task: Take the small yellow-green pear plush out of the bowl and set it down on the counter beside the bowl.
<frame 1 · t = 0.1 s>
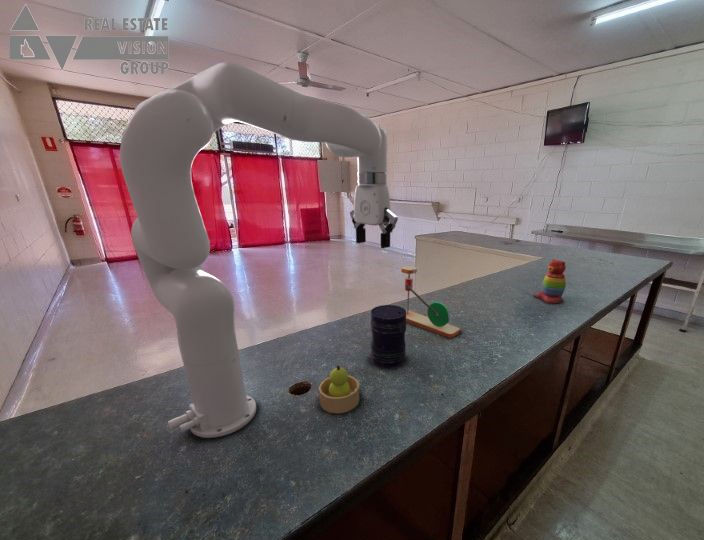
hand: (372, 244, 89), 31 cm above the counter, tool pointing down, fingers open, 9 cm apart
pear plush: (339, 398, 73), resting on bowl
stacking bear: (550, 299, 143), on the counter
bowl: (339, 400, 74), on the counter
crank mechanism: (426, 324, 114), on the counter
storage jar: (388, 359, 91), on the counter
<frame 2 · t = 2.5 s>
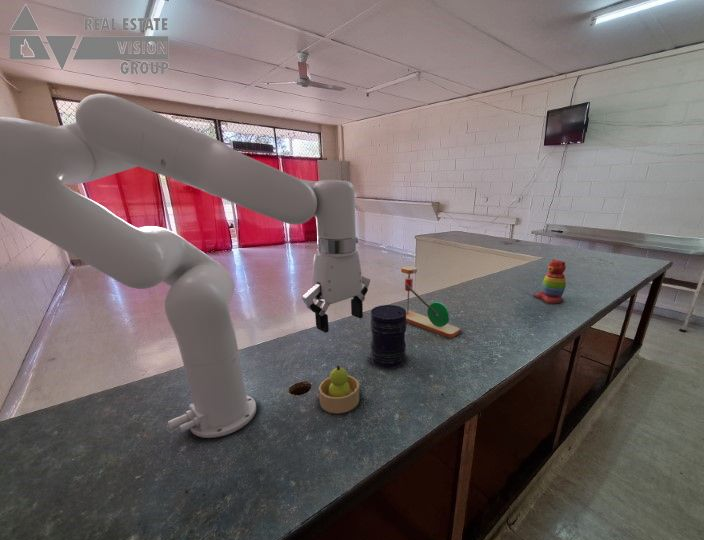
hand: (340, 323, 69), 19 cm above the counter, tool pointing down, fingers open, 9 cm apart
nothing on the counter moved.
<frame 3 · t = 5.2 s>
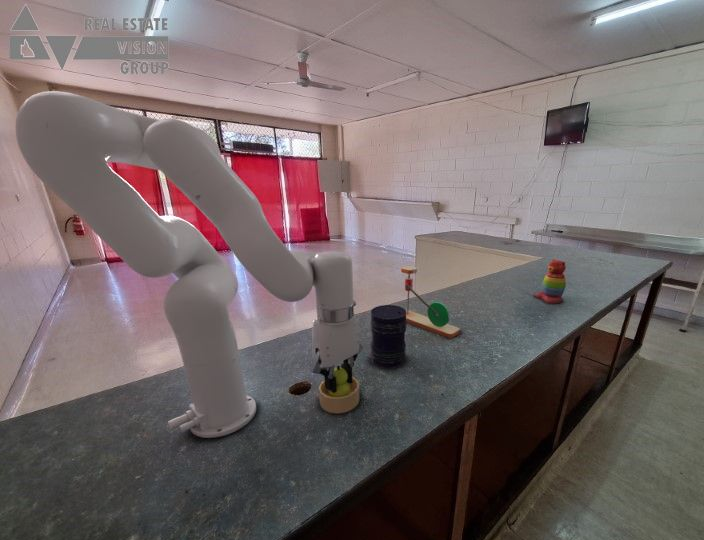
hand: (339, 384, 72), 4 cm above the counter, tool pointing down, fingers closed on pear plush, 4 cm apart
pear plush: (339, 398, 73), resting on bowl, touching gripper
everything else where it was.
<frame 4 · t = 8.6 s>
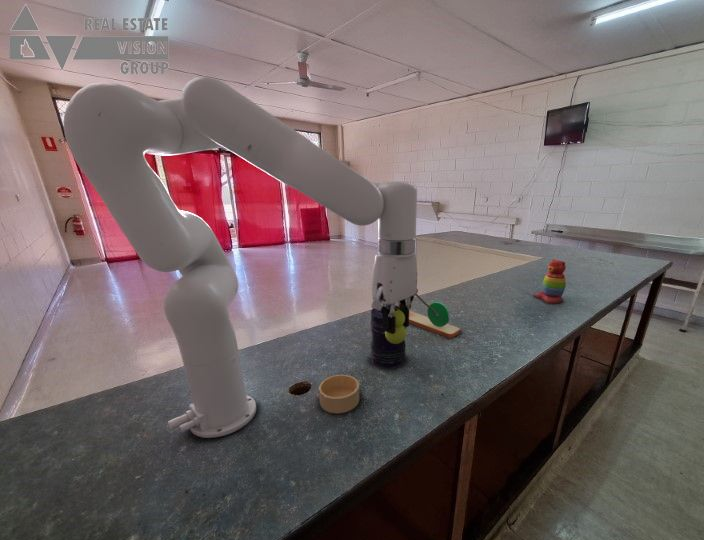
hand: (395, 327, 70), 18 cm above the counter, tool pointing down, fingers closed on pear plush, 4 cm apart
pear plush: (395, 342, 72), point 14 cm above the counter, touching gripper
everything else where it was.
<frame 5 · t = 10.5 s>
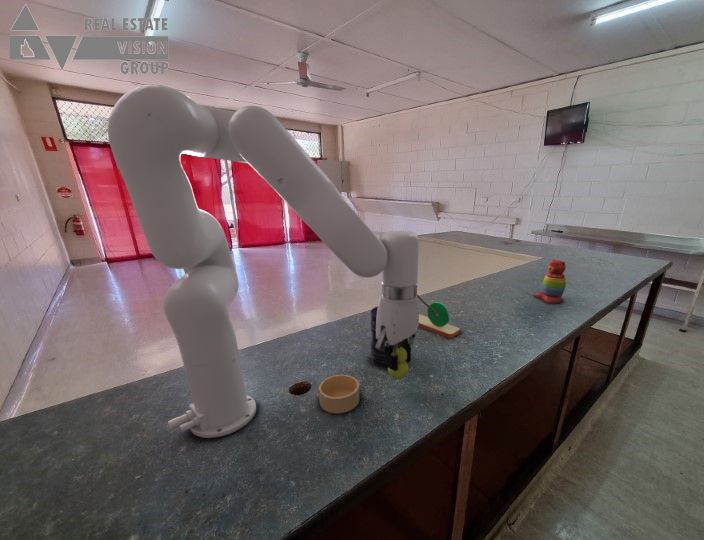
hand: (398, 363, 74), 8 cm above the counter, tool pointing down, fingers closed on pear plush, 4 cm apart
pear plush: (398, 377, 75), point 4 cm above the counter, touching gripper
everything else where it was.
when the fingers open (4 cm above the counter, at t = 12.0 s): pear plush stays where it is, on the counter.
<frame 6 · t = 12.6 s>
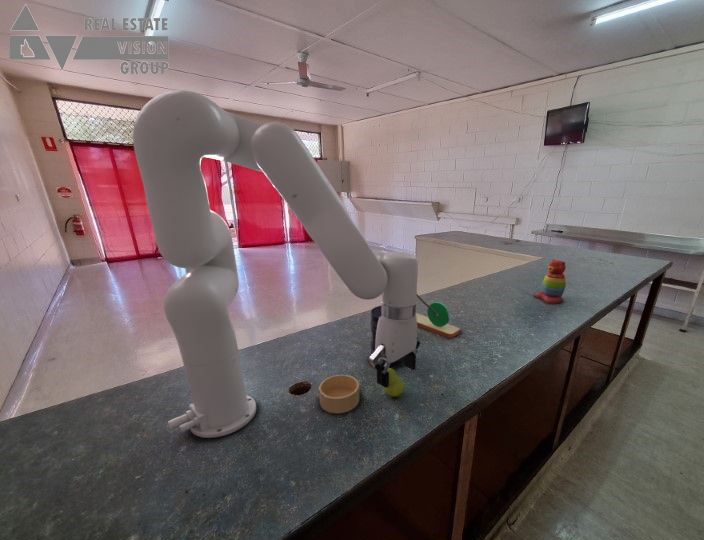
hand: (396, 375, 75), 5 cm above the counter, tool pointing down, fingers open, 9 cm apart
pear plush: (397, 392, 77), on the counter, tilted 27°, touching gripper
everything else where it was.
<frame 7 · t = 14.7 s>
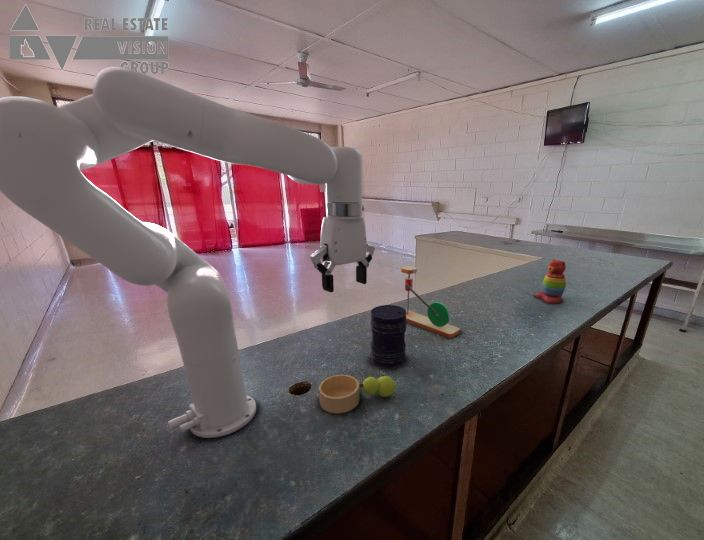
hand: (345, 286, 74), 25 cm above the counter, tool pointing down, fingers open, 9 cm apart
pear plush: (394, 386, 76), point 2 cm above the counter, tilted 76°, touching bowl
everything else where it was.
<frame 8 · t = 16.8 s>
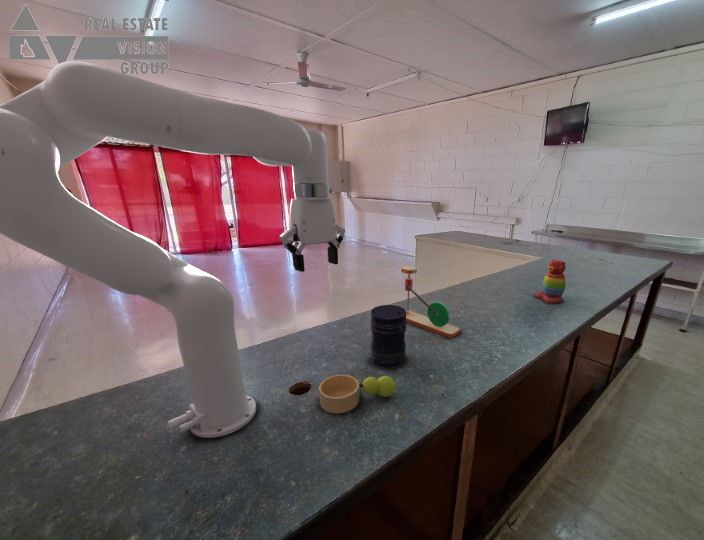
hand: (317, 266, 76), 28 cm above the counter, tool pointing down, fingers open, 9 cm apart
nothing on the counter moved.
at the end: pear plush inside the target area (0.6 cm from its centre), point 1.8 cm above the counter; the gripper is holding nothing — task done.
